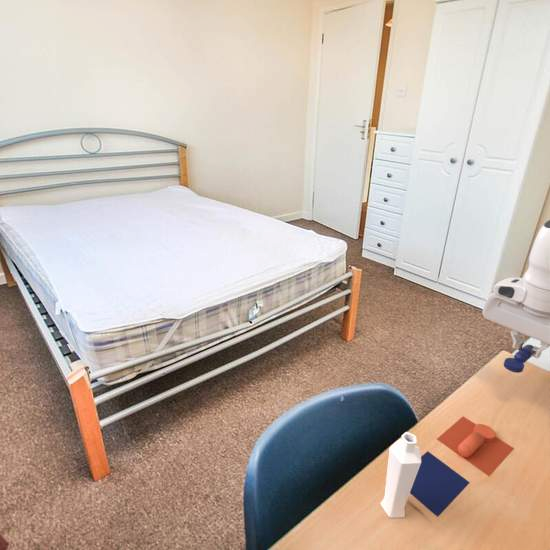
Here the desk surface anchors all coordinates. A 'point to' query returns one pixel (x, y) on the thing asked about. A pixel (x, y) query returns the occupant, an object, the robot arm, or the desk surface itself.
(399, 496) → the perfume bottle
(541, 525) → the desk surface
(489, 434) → the orange stubby capsule part
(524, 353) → the navy bulbous segmented part
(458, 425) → the terracotta mat
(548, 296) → the robot arm
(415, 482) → the navy mat
